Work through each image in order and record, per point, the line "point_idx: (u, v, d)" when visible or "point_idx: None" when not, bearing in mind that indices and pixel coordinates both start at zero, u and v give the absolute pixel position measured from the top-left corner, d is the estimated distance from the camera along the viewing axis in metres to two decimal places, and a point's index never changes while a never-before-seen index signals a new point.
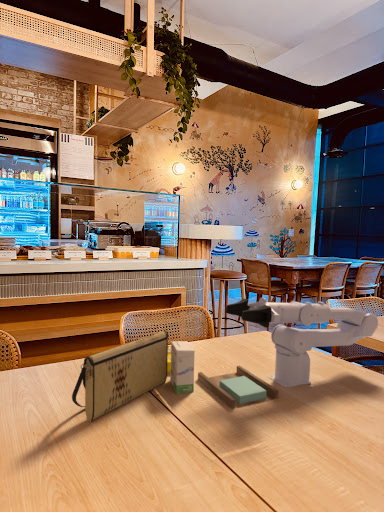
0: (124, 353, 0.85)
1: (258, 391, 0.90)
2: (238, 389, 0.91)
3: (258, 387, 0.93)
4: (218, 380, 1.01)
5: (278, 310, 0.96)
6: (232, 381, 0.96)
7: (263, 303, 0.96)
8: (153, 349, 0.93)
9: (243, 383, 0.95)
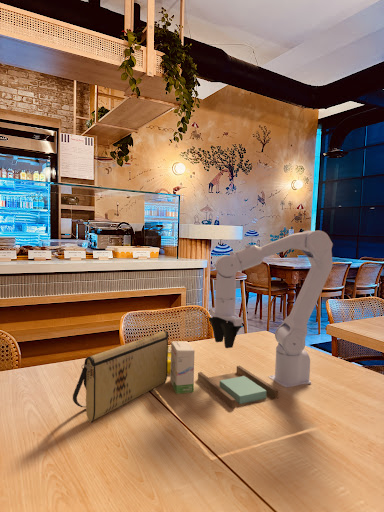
0: (125, 353, 0.85)
1: (258, 391, 0.90)
2: (238, 389, 0.91)
3: (258, 387, 0.93)
4: (218, 380, 1.01)
5: (226, 303, 0.98)
6: (232, 381, 0.96)
7: (218, 317, 0.99)
8: (154, 349, 0.93)
9: (243, 383, 0.95)
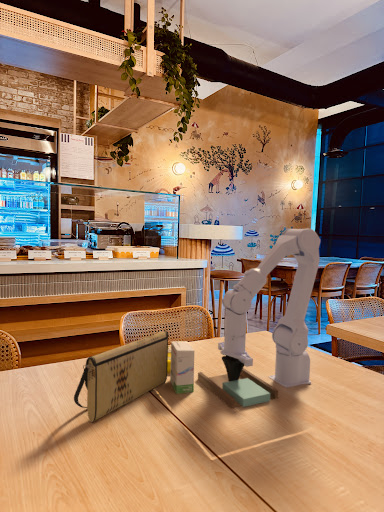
0: (126, 353, 0.85)
1: (262, 393, 0.89)
2: (241, 391, 0.90)
3: (261, 389, 0.91)
4: (218, 380, 1.01)
5: (236, 341, 0.94)
6: (235, 383, 0.95)
7: (227, 355, 0.95)
8: (154, 349, 0.93)
9: (247, 385, 0.93)
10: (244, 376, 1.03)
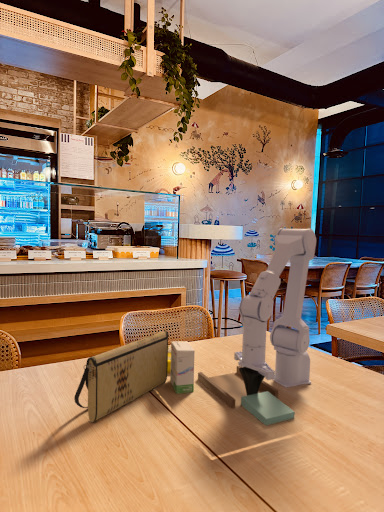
0: (126, 353, 0.85)
1: (286, 412, 0.81)
2: (263, 409, 0.82)
3: (285, 406, 0.83)
4: (218, 380, 1.01)
5: (255, 352, 0.86)
6: (255, 398, 0.87)
7: None
8: (154, 349, 0.93)
9: (268, 401, 0.86)
10: None
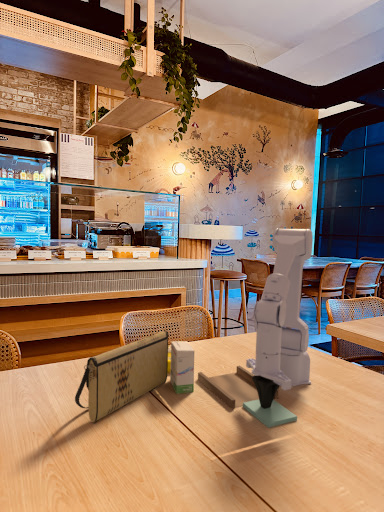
0: (126, 353, 0.85)
1: (288, 416, 0.80)
2: (265, 414, 0.81)
3: (287, 411, 0.83)
4: (218, 380, 1.01)
5: (270, 360, 0.81)
6: (257, 403, 0.86)
7: None
8: (154, 349, 0.93)
9: None
10: (244, 376, 1.03)
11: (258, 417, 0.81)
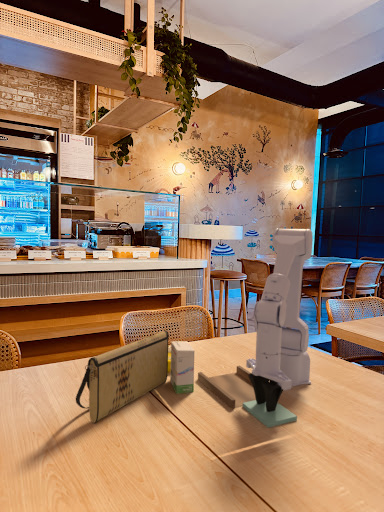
0: (127, 353, 0.85)
1: (288, 416, 0.80)
2: (265, 414, 0.81)
3: (286, 411, 0.83)
4: (218, 380, 1.01)
5: (270, 360, 0.81)
6: (256, 403, 0.86)
7: None
8: (155, 349, 0.93)
9: None
10: (244, 376, 1.03)
11: (258, 417, 0.81)
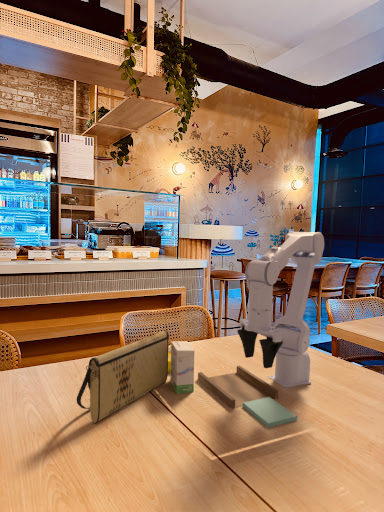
0: (128, 353, 0.85)
1: (288, 416, 0.80)
2: (265, 413, 0.81)
3: (287, 411, 0.83)
4: (218, 380, 1.01)
5: (262, 316, 0.86)
6: (257, 403, 0.86)
7: (252, 331, 0.87)
8: (155, 349, 0.94)
9: (270, 406, 0.85)
10: (244, 376, 1.03)
11: (258, 417, 0.81)
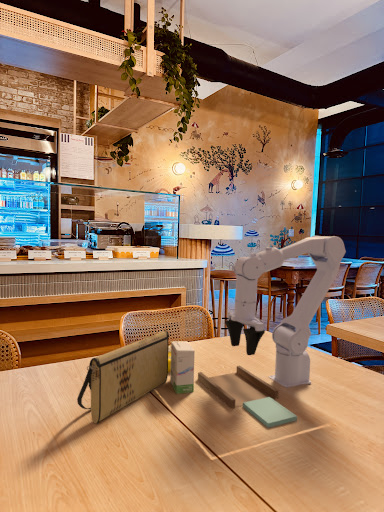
0: (128, 354, 0.84)
1: (288, 416, 0.80)
2: (265, 414, 0.81)
3: (287, 411, 0.83)
4: (218, 380, 1.01)
5: (247, 307, 0.94)
6: (257, 403, 0.86)
7: (237, 321, 0.95)
8: (155, 349, 0.94)
9: (270, 406, 0.85)
10: (244, 376, 1.03)
11: (258, 417, 0.81)
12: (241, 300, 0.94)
